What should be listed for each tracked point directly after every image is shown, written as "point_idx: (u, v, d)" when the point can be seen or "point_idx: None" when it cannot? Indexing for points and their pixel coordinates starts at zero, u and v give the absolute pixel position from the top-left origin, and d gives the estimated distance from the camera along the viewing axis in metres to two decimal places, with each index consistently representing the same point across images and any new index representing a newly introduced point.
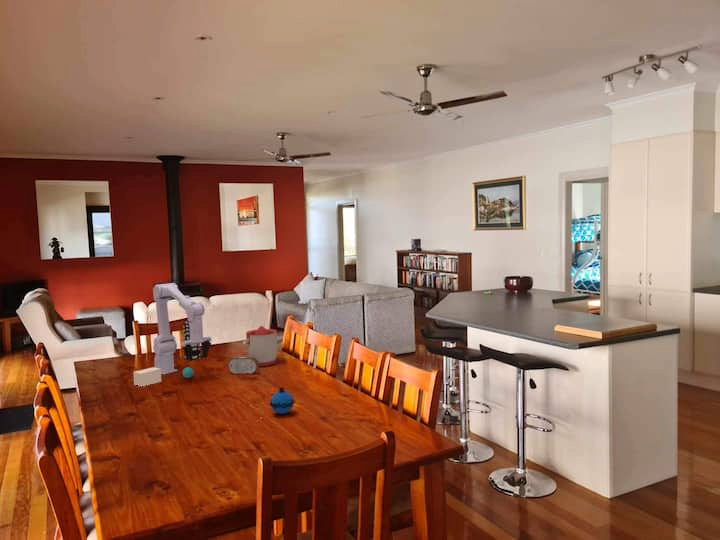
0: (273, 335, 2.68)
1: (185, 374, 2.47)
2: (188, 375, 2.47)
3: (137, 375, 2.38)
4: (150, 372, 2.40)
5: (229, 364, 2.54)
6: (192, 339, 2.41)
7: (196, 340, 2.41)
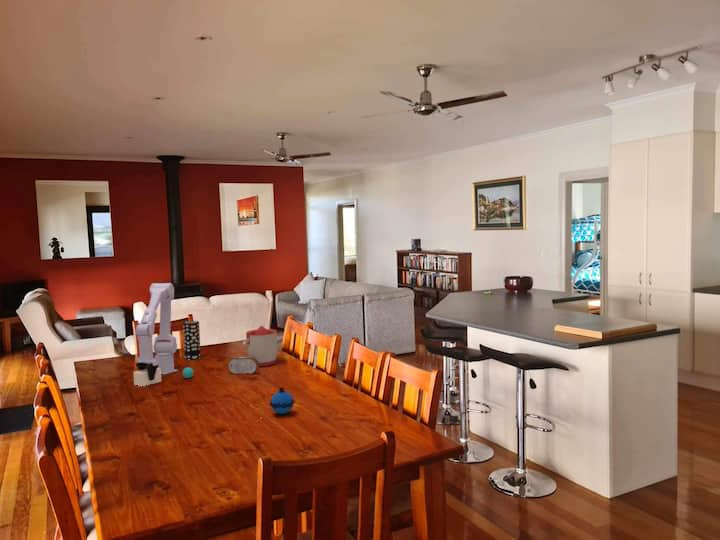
0: (273, 335, 2.68)
1: (185, 374, 2.47)
2: (188, 375, 2.47)
3: (137, 375, 2.38)
4: None
5: (229, 364, 2.54)
6: None
7: (139, 359, 2.41)
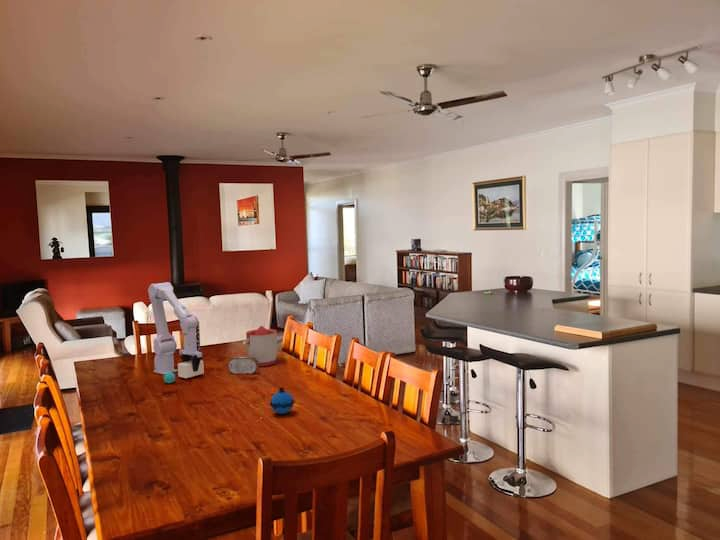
0: (273, 335, 2.68)
1: None
2: (172, 375, 2.40)
3: (181, 367, 2.47)
4: None
5: (229, 364, 2.54)
6: None
7: (184, 351, 2.49)
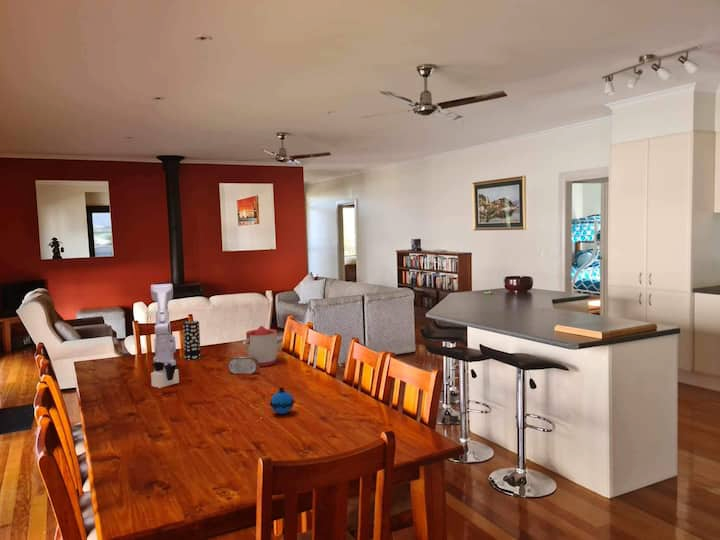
0: (273, 335, 2.68)
1: None
2: None
3: (155, 376, 2.36)
4: None
5: (229, 364, 2.54)
6: None
7: (157, 359, 2.38)
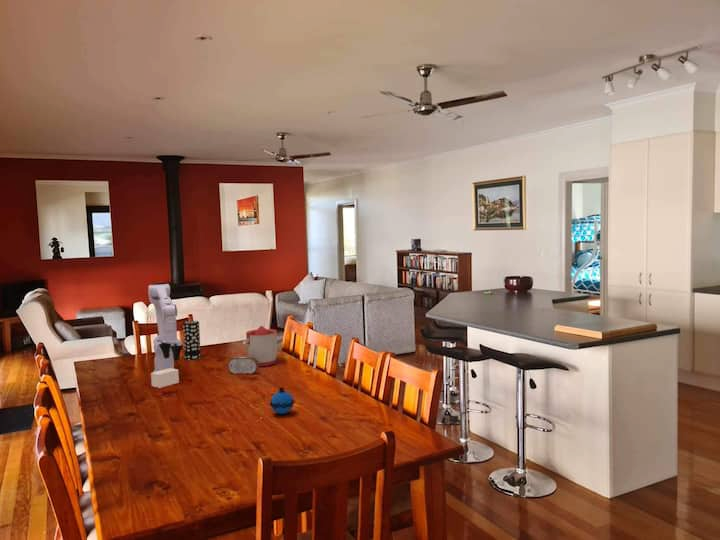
0: (273, 335, 2.68)
1: None
2: None
3: (155, 376, 2.36)
4: (168, 373, 2.38)
5: (229, 364, 2.54)
6: None
7: (163, 340, 2.46)
